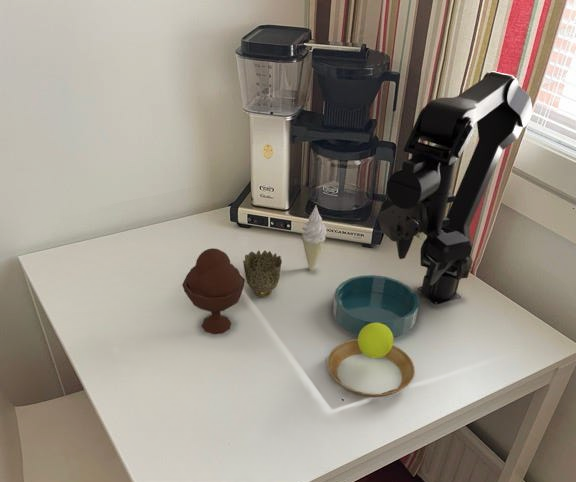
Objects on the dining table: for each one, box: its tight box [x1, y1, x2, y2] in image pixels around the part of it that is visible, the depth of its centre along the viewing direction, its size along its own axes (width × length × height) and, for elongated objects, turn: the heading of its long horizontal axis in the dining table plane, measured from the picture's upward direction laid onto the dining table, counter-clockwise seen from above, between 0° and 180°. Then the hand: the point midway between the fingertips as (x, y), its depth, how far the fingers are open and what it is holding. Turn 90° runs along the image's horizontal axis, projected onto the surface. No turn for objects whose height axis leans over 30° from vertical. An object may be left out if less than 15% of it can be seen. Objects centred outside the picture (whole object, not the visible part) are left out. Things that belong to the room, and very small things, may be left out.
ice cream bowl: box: [181, 247, 246, 335], centre depth 110 cm, size 11×11×15 cm
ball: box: [357, 323, 394, 359], centre depth 103 cm, size 6×6×6 cm
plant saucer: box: [326, 338, 416, 398], centre depth 104 cm, size 15×15×3 cm
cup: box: [242, 250, 283, 298], centre depth 120 cm, size 8×7×8 cm
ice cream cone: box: [300, 205, 327, 271], centre depth 125 cm, size 5×5×15 cm
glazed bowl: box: [332, 274, 420, 338], centre depth 117 cm, size 16×16×4 cm
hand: (416, 270), depth 108 cm, fingers open, 9 cm apart
